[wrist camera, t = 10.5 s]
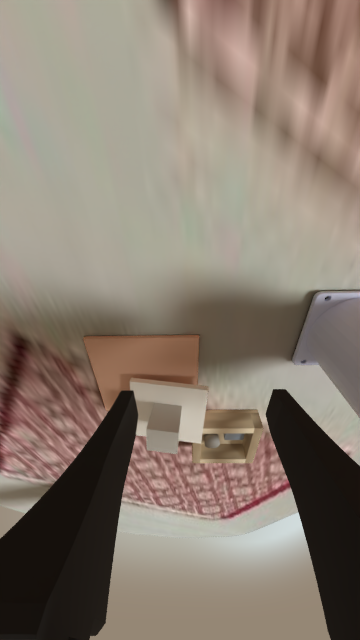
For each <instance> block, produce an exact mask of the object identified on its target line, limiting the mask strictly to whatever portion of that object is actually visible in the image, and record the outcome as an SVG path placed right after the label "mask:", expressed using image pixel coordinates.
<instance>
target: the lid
mask: <svg viewBox="0 0 360 640" xmlns="http://www.w3.org/2000/svg"><path fill="white" fill-rule="evenodd" d="M130 390H134V395H135V400H136V405H137V410H138V422H137V430H136V435H139V436H147V450H151V451H158V452H165V453H172V454H177V451H178V442H179V441H184V442H192V443H199V444H201V440H202V433H203V426H204V419H205V412H206V404H207V397H208V386H202V385H193V384H184V383H175V382H166V381H157V380H149V379H140V378H131V380H130Z"/></svg>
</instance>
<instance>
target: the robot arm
mask: <svg viewBox="0 0 360 640" xmlns="http://www.w3.org/2000/svg"><path fill="white" fill-rule="evenodd" d="M327 296H328V298H327V299H325V297H327ZM302 360H303V361H302ZM292 361H293V363H294V364H295V365H320V366H321V368H322V369H323V370H324V372H325V373H326V374H327V376H328V377H329V378H330V380H331V381H332V382H333V384H334V385H335V386H336V388H337V389H338V390H339V392H340V393H341V394H342V395H343V397H344V398H345V399H346V401H347V402H348V403H349V405H350V406H351V407H352V409H353V410H354V411H355V413H356V414H357V415H358V417H359V418H360V291H321V292H318V293H316V294H315V295H314V297H313V300H312V303H311V306H310V309H309V312H308V315H307V318H306V320H305V323H304V326H303V329H302V332H301V335H300V338H299V341H298V344H297V347H296V350H295V353H294V356H293V358H292ZM266 417H267V421H268V425H269V429H270V433H271V436H272V439H273V441H274V444H275V447H276V449H277V452H278V455H279V457H280V460H281V462H282V465H283V468H284V470H285V473H286V475H287V478H288V481H289V483H290V486H291V489H292V492H293V495H294V498H295V502H296V505H297V508H298V512H299V515H300V519H301V522H302V526H303V529H304V533H305V537H306V540H307V544H308V548H309V552H310V556H311V560H312V564H313V567H314V572H315V575H316V580H317V583H318V588H319V592H320V597H321V601H322V606H323V610H324V615H325V619H326V624H327V629H328V632H329V635H330V638H331V640H360V466H359V465H358V464H357V463H356V462H355V461H354V460H352V459H351V458H350V457H349V456H348V455H347V454H346V453H345V452H344V451H343V450H342V449H341V448H340V447H339V446H338V445H337V444H336V443H335V442H334V441H333V440H332V439H331V438H330V437H329V436H328V435H327V434H326V433H325V432H324V431H323V430H322V429H321V428H320V427H319V426H318V425H317V424H316V423H315V422H314V421H313V419H312V418H311V417H310V416H309V415H308V414H307V413H306V412H305V411H304V410H303V408H302V407H301V406H300V405H299V404H298V403H297V402H296V401H295V399H294V398H293V397H292V396H291V395H290V394H289V393H288V392H287V390H286V389H273V392H272V395H271V399H270V402H269V405H268V408H267V411H266ZM137 422H138V410H137V405H136V400H135V395H134V390H124V391H121V392H120V393H119V395H118V397H117V398H116V400H115V402H114V404H113V405H112V407H111V408H110V410H109V412H108V413H107V415H106V416H105V418H104V419H103V421H102V422H101V424H100V425H99V427H98V428H97V430H96V431H95V433H94V434H93V436H92V437H91V438H90V440H89V441H88V442H87V444H86V445H85V447H84V448H83V449H82V451H81V452H80V453H79V454H78V456H77V457H76V458H75V460H74V461H73V462H72V463H71V464H70V466H69V467H68V468H67V469H66V470H65V472H64V473H63V474H62V475H61V476H60V477H59V479H58V480H57V481H56V482H55V483H54V484H53V485H52V487H51V488H50V489H49V490H48V491H47V492H46V493H45V494H44V495H43V496H42V497H41V499H40V500H39V501H38V502H37V503H36V504H35V505H34V506H33V507H32V508H31V509H30V510H29V511H28V512H27V513H26V514H25V515H24V516H23V517H22V518H21V519H20V520H19V521H18V522H17V523H16V524H15V525H14V526H13V527H12V528H11V529H10V530H9V531H8V532H7V533H6V534H5V535H4V536H3V537H2V538H1V539H0V640H89V638H90V636H96V635H97V634H98V632H99V631H100V630H101V629H102V627H103V626H104V624H105V622H106V613H107V604H108V594H109V586H110V578H111V570H112V562H113V554H114V547H115V540H116V533H117V526H118V519H119V512H120V506H121V499H122V493H123V488H124V483H125V479H126V475H127V471H128V466H129V462H130V458H131V454H132V449H133V445H134V441H135V436H136V430H137Z"/></svg>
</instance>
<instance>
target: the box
mask: <svg viewBox="0 0 360 640" xmlns="http://www.w3.org/2000/svg"><path fill="white" fill-rule="evenodd" d="M262 432H263V425H262V422H261V419H260V416H259V413H258V410H206V412H205V419H204V426H203V433H202V440H201V444H199V443H192V463H253V460H254V457H255V453H256V450H257V447H258V444H259V441H260V438H261V435H262Z"/></svg>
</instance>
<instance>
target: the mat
mask: <svg viewBox="0 0 360 640" xmlns="http://www.w3.org/2000/svg"><path fill="white" fill-rule="evenodd" d="M83 340H84V343H85V346H86V349H87V352H88V356H89V359H90V362H91V365H92V368H93V371H94V374H95V377H96V380H97V383H98V386H99V390H100V393H101V396H102V399H103V402H104V405H105V408H106V411H109V410H110V408H111V407H112V405H113V404H114V402H115V400H116V398H117V397H118V395H119V393H120V392H121V391H124V390H130V380H131V378H140V379H149V380H157V381H166V382H175V383H184V384H193V385H198V356H199V335H158V336H85V337H84V338H83Z"/></svg>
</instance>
